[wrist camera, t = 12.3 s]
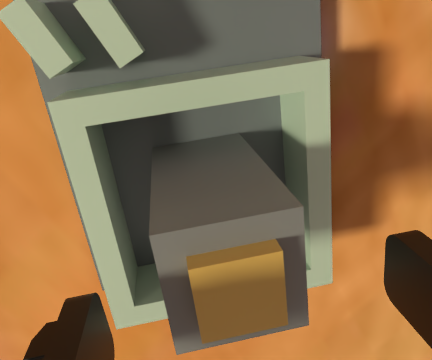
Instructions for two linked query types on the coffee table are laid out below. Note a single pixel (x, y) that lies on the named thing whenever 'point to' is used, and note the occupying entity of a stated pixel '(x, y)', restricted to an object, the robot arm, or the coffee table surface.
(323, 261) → the end holder
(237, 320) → the block
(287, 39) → the board
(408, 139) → the coffee table surface
